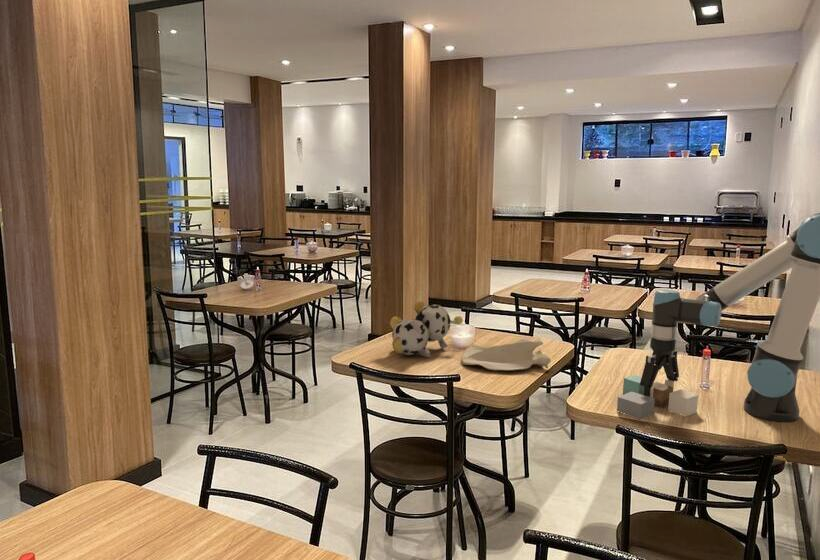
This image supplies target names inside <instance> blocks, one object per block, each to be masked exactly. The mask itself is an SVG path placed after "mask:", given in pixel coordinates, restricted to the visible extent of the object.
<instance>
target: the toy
mask: <svg viewBox="0 0 820 560" xmlns="http://www.w3.org/2000/svg"><path fill="white" fill-rule="evenodd" d="M414 311H415V313H416V315H415V318H414V319H413V318H405V319H402V318H401V317H399V316H396V315H395V316H393V317H392V318H390V320H389V321H390V322H389V324H390V326H391V328H392V333H391V334H392V336H391V337H392V342H391V343H392V344H391V346H392V348H393V350H394V352H395V353H396V354H402V355H404V356H414V355H419V354H420V355H421V356H423V357H424V358H430V357H431V355H432V354H431V351H430V349H429V348H428V347H427V344H428V343H432V342H436V341H437V343H438V345H439V347H440V348H441V349H446V348H448V347H449V346H448V344H447V343H446V341H445V340H444V337H445V336H446V335H447V334H448V332H449V331H450V328H451V325H461V324H462V323H463V321H464V319H463V317H462V316H459V315H457V316H455V317H454V318H453V320H451V317H450V314H449V312H448V311H447V310H446V308H444V307H443V306H441V305H439V304H430V305H428V304H427V305H426V304H425V302H424V301H422V300H418V301H416V302H415V304H414Z"/></svg>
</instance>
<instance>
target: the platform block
mask: <svg viewBox="0 0 820 560" xmlns="http://www.w3.org/2000/svg"><path fill="white" fill-rule="evenodd" d="M654 402H655V398H651V397H648V396H645V395H641V394H638V393H635V392H629V393H627V394H624V395H623V394H622V395H619V396H618V397H617V404H616V412H617V411H619V412H618V413H620V412H622V413H621V414H623V413H625V414H624V415H626V414H627V415H626V416H629V415H630V416H629V417H633V418H636V419H639V420H642V419H644V418H646V417H649V416H651V415H653V414H654V410H655V406H654Z"/></svg>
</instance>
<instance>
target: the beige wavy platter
mask: <svg viewBox="0 0 820 560" xmlns="http://www.w3.org/2000/svg"><path fill="white" fill-rule="evenodd" d="M543 345H544V342H543V341H542V340H532V341H531V340H529V339H527V338H524V339H519V340H517V341H515V342H511V343H504V344H501V345H493V346H489V347H485V346H480V345H472V346H470V347H469V348H466V349H465V350H464V352H463V354H462V357H461V360H460V361H461V364H462V365H466V366H467V365H468V366H476V365H478V366H482V367H483V368H485V369H487V370H490V371H518V370H528V369H530V368H531V366H533V365H537V366H538V367H540V368H543V367H545V369H548V368H549V364H550V363H551V358H550V356H548V355H546V354H544V353H542V350H541V349H538V350H536V348H538V347H539V346H543ZM535 350H536V351H535Z"/></svg>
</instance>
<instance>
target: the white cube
mask: <svg viewBox="0 0 820 560" xmlns="http://www.w3.org/2000/svg"><path fill="white" fill-rule="evenodd" d="M698 399H699V395H698V394H697V393H693V392H690V391H687V390H684V389H681V388H680V389H677V390H673V392H671V393H670V394H669V406H667V410H668V412H670V411H672V412H671V413H673V412H675V413H674V414H676V413H678V414H677V415H679V414H681V415H680V416H682V415H684V416H683V417H685V416H687V415H689V416H691V414H692V415H695V414H697V412H698V411H697V410H698V401H699V400H698ZM694 413H695V414H694ZM687 417H688V416H687Z"/></svg>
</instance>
